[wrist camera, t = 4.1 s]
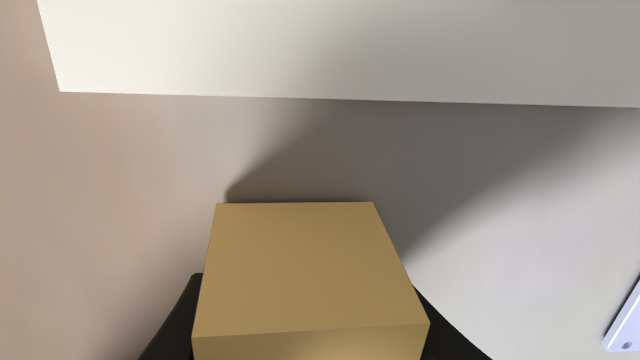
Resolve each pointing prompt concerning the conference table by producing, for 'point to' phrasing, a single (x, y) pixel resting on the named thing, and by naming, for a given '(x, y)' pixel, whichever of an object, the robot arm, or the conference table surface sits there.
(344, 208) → the cube
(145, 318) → the conference table surface
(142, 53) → the mat
